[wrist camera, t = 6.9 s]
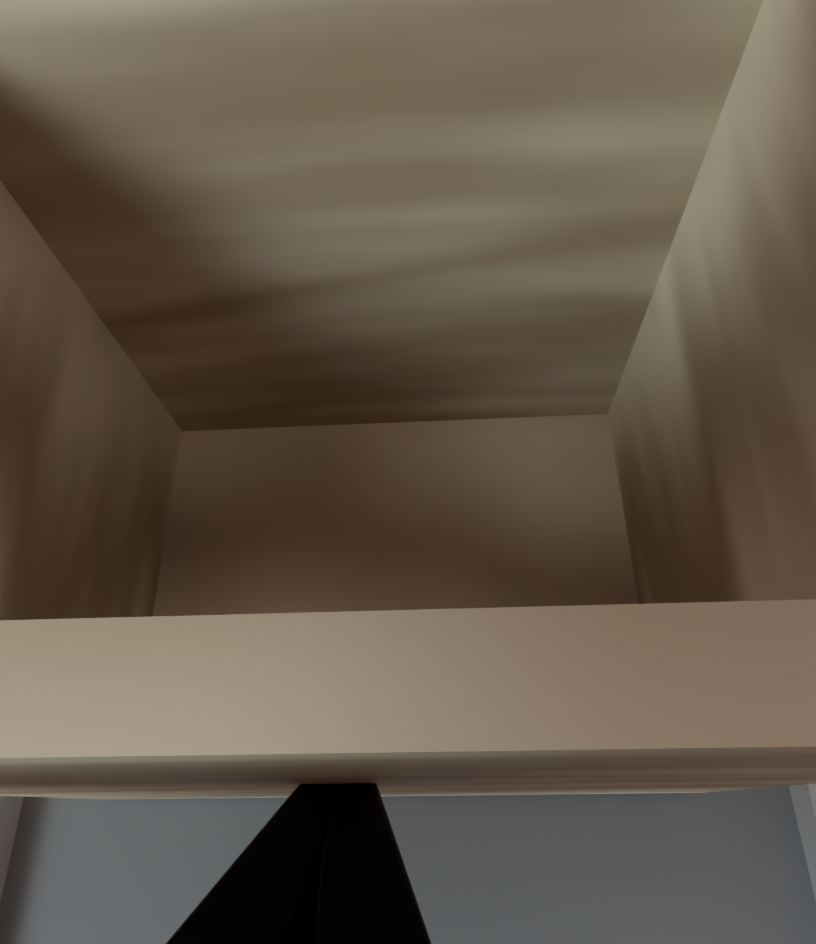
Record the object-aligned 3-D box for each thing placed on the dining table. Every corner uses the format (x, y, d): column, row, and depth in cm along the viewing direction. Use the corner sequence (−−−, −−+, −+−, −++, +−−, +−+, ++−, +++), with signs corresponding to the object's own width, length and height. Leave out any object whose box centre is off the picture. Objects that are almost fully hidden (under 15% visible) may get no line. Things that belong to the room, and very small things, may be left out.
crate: (699, 792, 13) (1377, 738, 4) (101, 799, 14) (-738, 768, 4) (628, 402, 17) (852, -133, 8) (167, 421, 18) (-182, -49, 8)
